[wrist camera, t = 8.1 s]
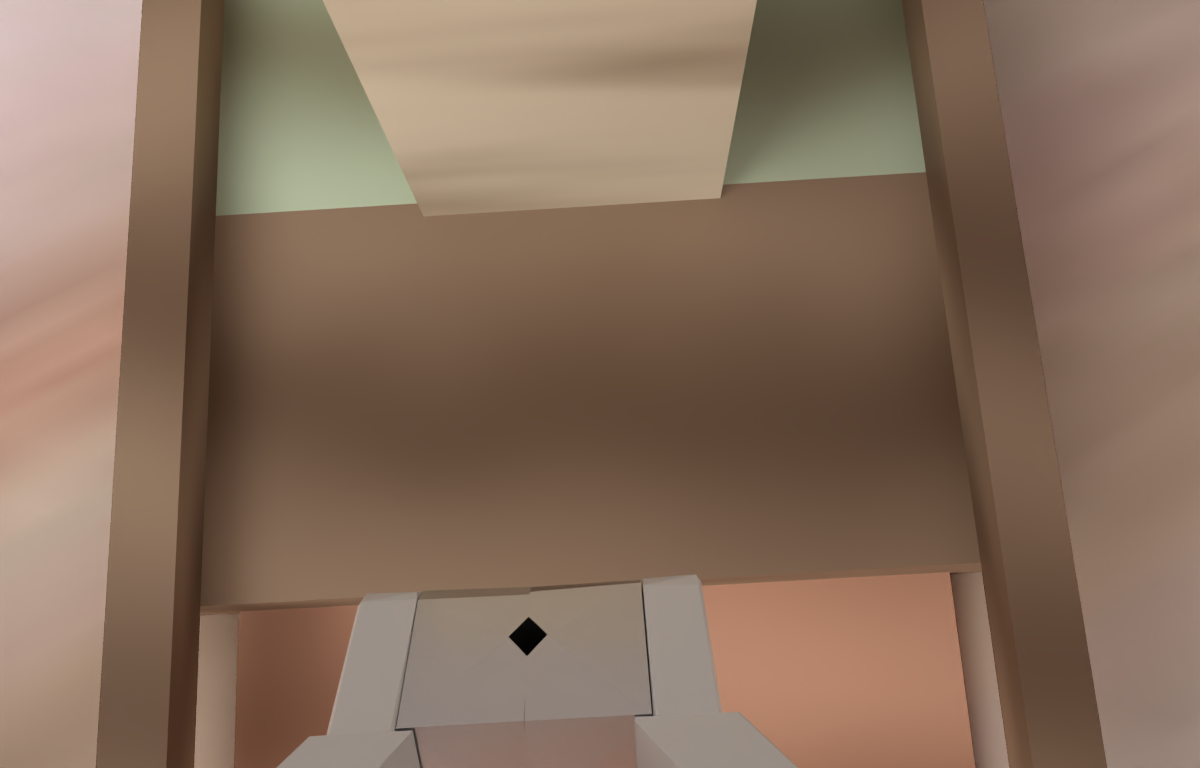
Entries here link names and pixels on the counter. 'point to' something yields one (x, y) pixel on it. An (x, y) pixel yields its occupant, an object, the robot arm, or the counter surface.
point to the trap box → (592, 393)
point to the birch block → (551, 97)
